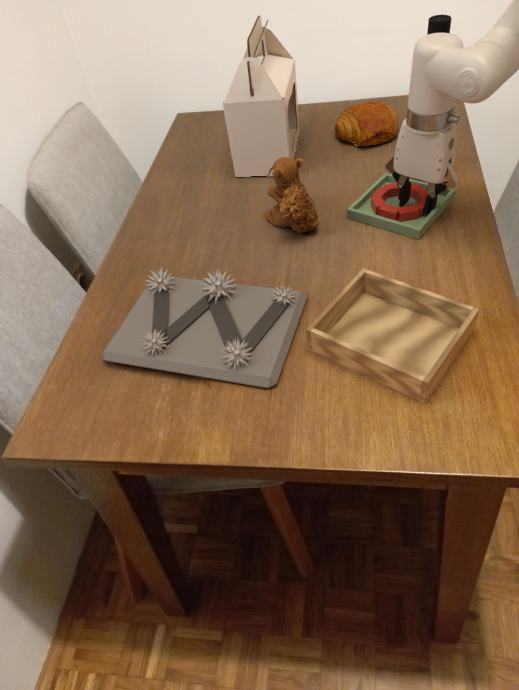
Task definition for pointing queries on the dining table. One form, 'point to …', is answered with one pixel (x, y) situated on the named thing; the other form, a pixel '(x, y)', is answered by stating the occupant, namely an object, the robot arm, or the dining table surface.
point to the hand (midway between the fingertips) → (416, 206)
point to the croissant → (367, 123)
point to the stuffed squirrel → (290, 198)
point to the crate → (393, 332)
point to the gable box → (262, 105)
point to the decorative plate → (209, 329)
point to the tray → (411, 228)
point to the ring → (395, 212)
